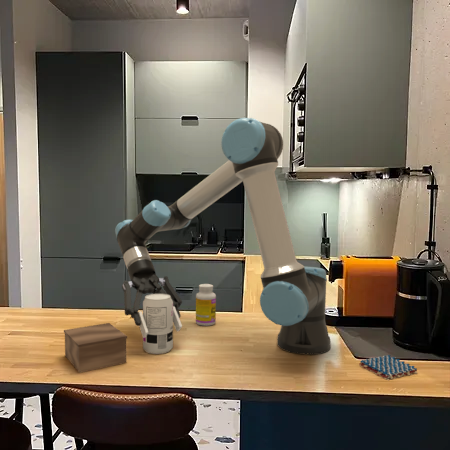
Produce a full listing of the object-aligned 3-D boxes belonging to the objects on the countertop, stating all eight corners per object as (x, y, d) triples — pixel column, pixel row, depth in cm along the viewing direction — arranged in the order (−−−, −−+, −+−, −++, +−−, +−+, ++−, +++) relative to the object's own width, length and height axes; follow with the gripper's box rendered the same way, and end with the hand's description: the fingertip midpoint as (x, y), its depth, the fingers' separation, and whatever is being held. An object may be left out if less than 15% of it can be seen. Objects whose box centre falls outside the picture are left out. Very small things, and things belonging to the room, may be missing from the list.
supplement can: (136, 349, 128) (136, 296, 127) (160, 342, 134) (160, 291, 133) (155, 357, 122) (155, 301, 121) (178, 349, 128) (179, 296, 127)
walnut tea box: (127, 362, 118) (127, 336, 118) (78, 373, 111) (78, 344, 111) (109, 347, 129) (109, 322, 129) (64, 355, 122) (63, 330, 122)
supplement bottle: (213, 327, 149) (213, 288, 148) (193, 325, 150) (193, 287, 149) (217, 321, 156) (217, 283, 154) (198, 319, 157) (198, 282, 156)
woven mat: (356, 367, 119) (356, 359, 118) (387, 361, 123) (388, 353, 123) (386, 383, 109) (387, 374, 109) (419, 375, 114) (419, 367, 114)
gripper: (168, 269, 145) (193, 332, 133) (100, 276, 133) (120, 345, 121) (176, 255, 140) (202, 318, 129) (106, 260, 128) (128, 331, 116)
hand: (162, 331), depth 125 cm, fingers open, 9 cm apart
